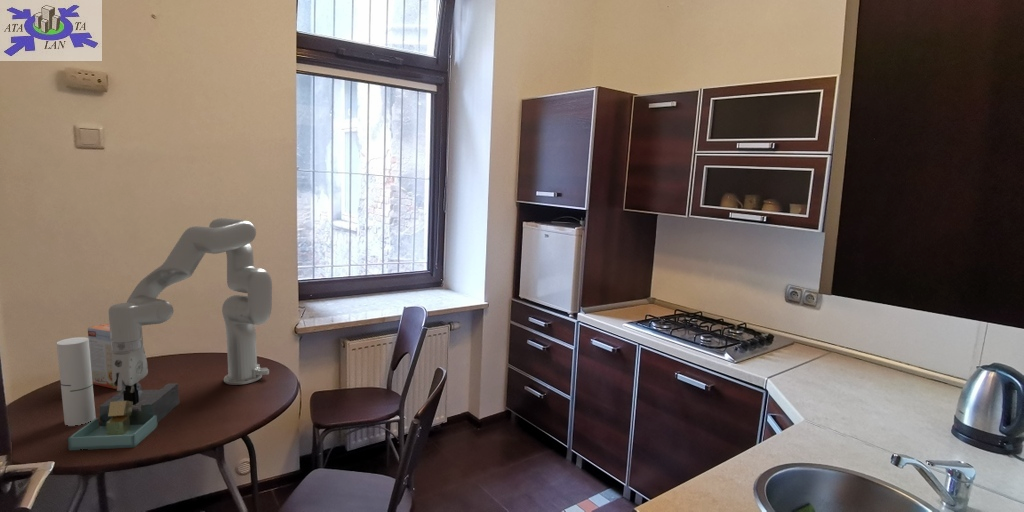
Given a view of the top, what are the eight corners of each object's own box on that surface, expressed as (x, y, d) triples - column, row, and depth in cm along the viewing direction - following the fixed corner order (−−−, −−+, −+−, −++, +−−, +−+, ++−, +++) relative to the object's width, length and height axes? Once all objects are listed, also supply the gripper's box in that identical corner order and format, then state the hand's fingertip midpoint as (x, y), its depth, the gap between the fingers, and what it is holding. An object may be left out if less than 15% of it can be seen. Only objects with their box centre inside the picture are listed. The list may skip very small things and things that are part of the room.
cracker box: (136, 384, 180) (132, 327, 177) (118, 390, 175) (114, 332, 172) (109, 378, 185) (105, 322, 182) (91, 384, 179) (86, 327, 176)
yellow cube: (129, 415, 148) (122, 421, 144) (130, 428, 148) (123, 435, 144) (113, 416, 147) (106, 423, 143) (114, 429, 147) (107, 436, 143)
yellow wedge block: (133, 401, 150) (126, 400, 146) (131, 415, 149) (123, 415, 145) (117, 402, 149) (110, 401, 146) (115, 416, 148) (108, 416, 144)
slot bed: (179, 403, 167) (178, 383, 166) (153, 426, 151) (152, 404, 150) (132, 404, 165) (130, 384, 164) (101, 428, 149) (99, 406, 148)
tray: (157, 426, 151) (156, 415, 151) (134, 447, 140) (133, 435, 139) (97, 428, 149) (96, 417, 148) (69, 450, 137) (67, 438, 137)
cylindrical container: (76, 415, 157) (69, 337, 153) (101, 415, 157) (94, 337, 154) (58, 426, 150) (50, 344, 146) (84, 426, 150) (76, 344, 147)
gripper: (126, 353, 143) (131, 414, 146) (154, 337, 158) (158, 393, 160) (96, 353, 142) (101, 415, 144) (128, 337, 156) (132, 394, 159)
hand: (131, 403), depth 152 cm, fingers closed
